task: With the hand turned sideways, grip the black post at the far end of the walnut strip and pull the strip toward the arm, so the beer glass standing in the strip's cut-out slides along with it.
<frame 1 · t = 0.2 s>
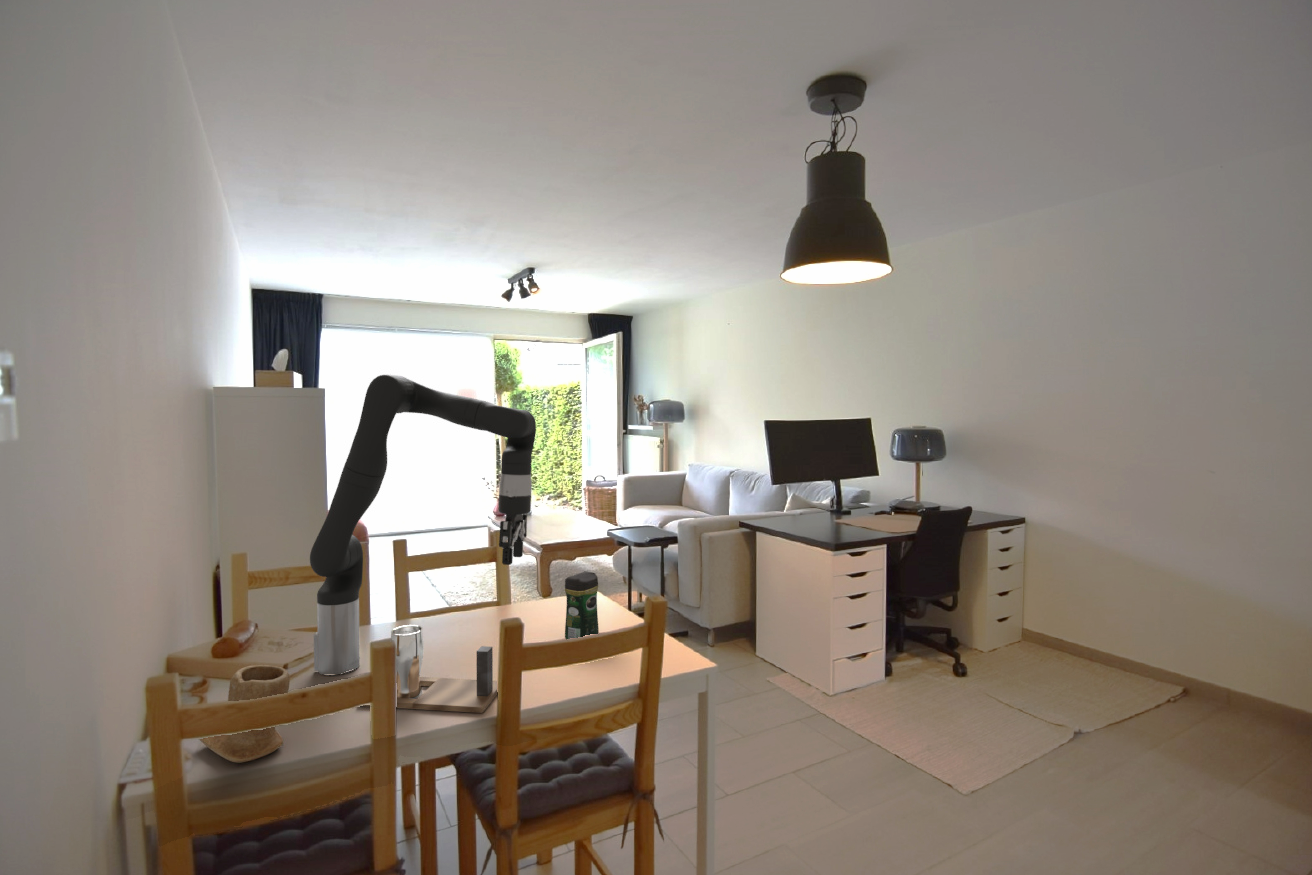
hand: (512, 560, 150), 29 cm above the table, tool pointing down, fingers open, 8 cm apart
stone cup: (250, 747, 120), on the table
beer glass: (407, 696, 141), resting in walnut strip
coffee jar: (581, 638, 178), on the table
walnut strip: (432, 670, 141), point 6 cm above the table, slide at 0.0 cm
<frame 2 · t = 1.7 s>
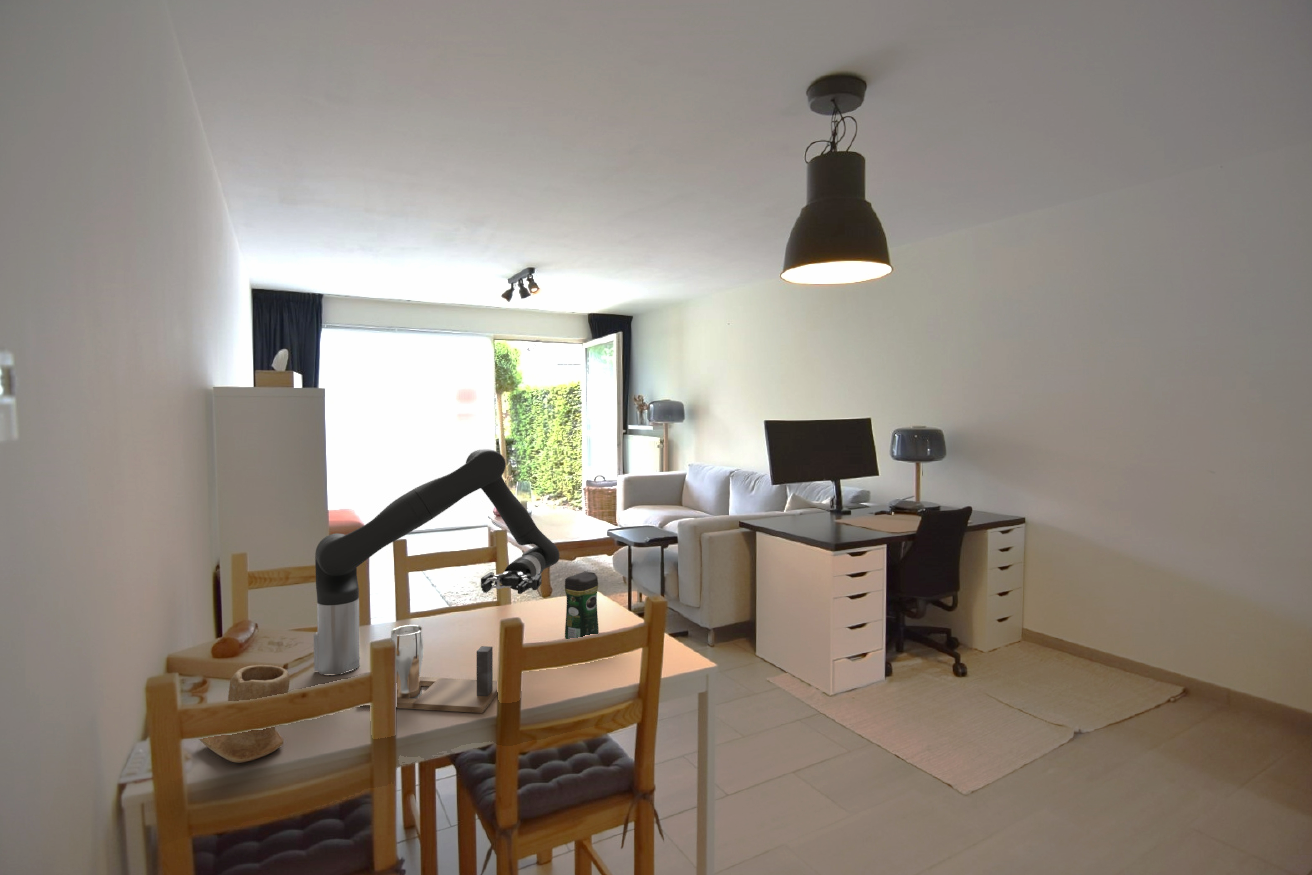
hand: (501, 589, 150), 22 cm above the table, tool horizontal, fingers open, 8 cm apart
nothing on the table moved.
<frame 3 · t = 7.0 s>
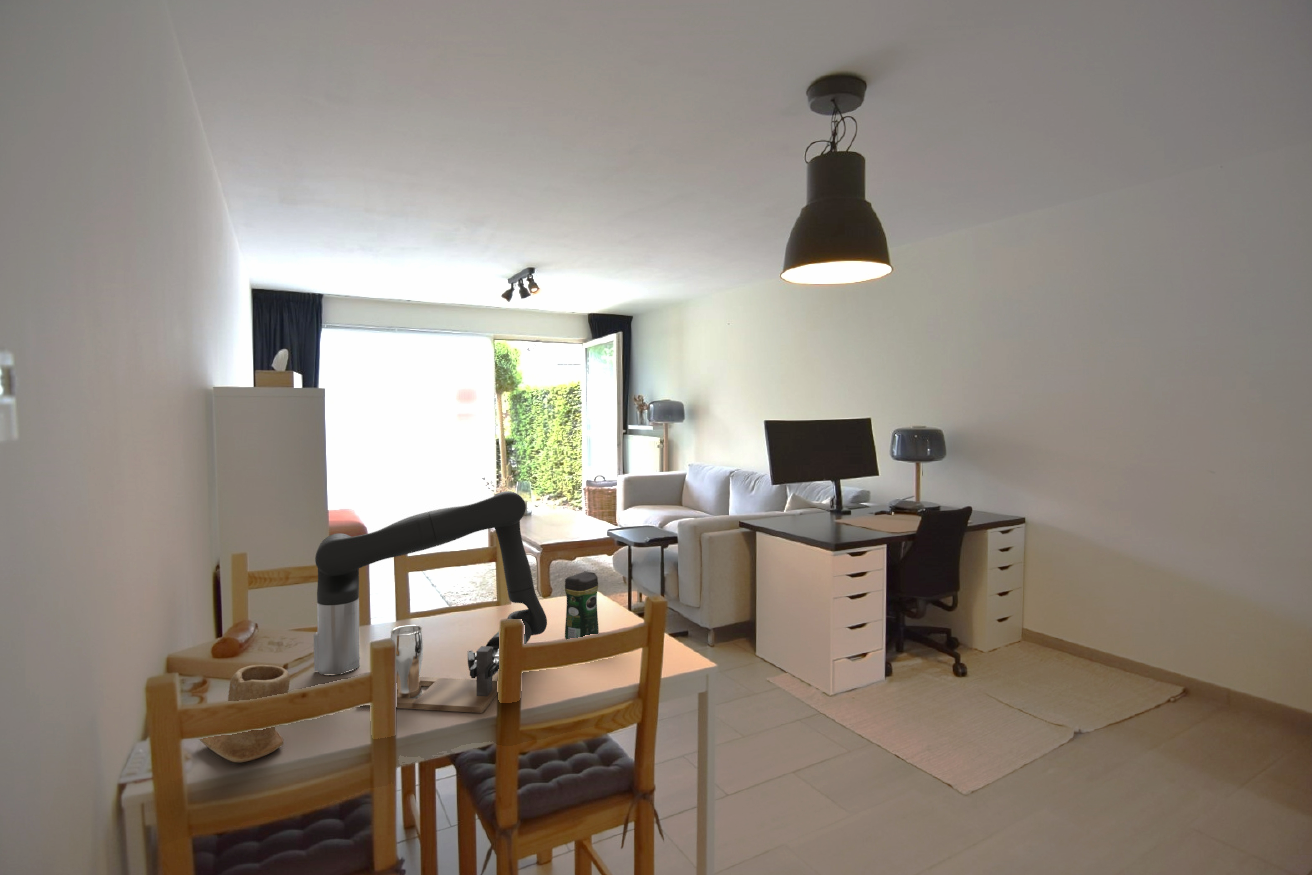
hand: (479, 674, 137), 7 cm above the table, tool horizontal, fingers closed on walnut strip, 2 cm apart
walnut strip: (432, 670, 141), point 6 cm above the table, slide at 0.0 cm, touching gripper
everything else where it was.
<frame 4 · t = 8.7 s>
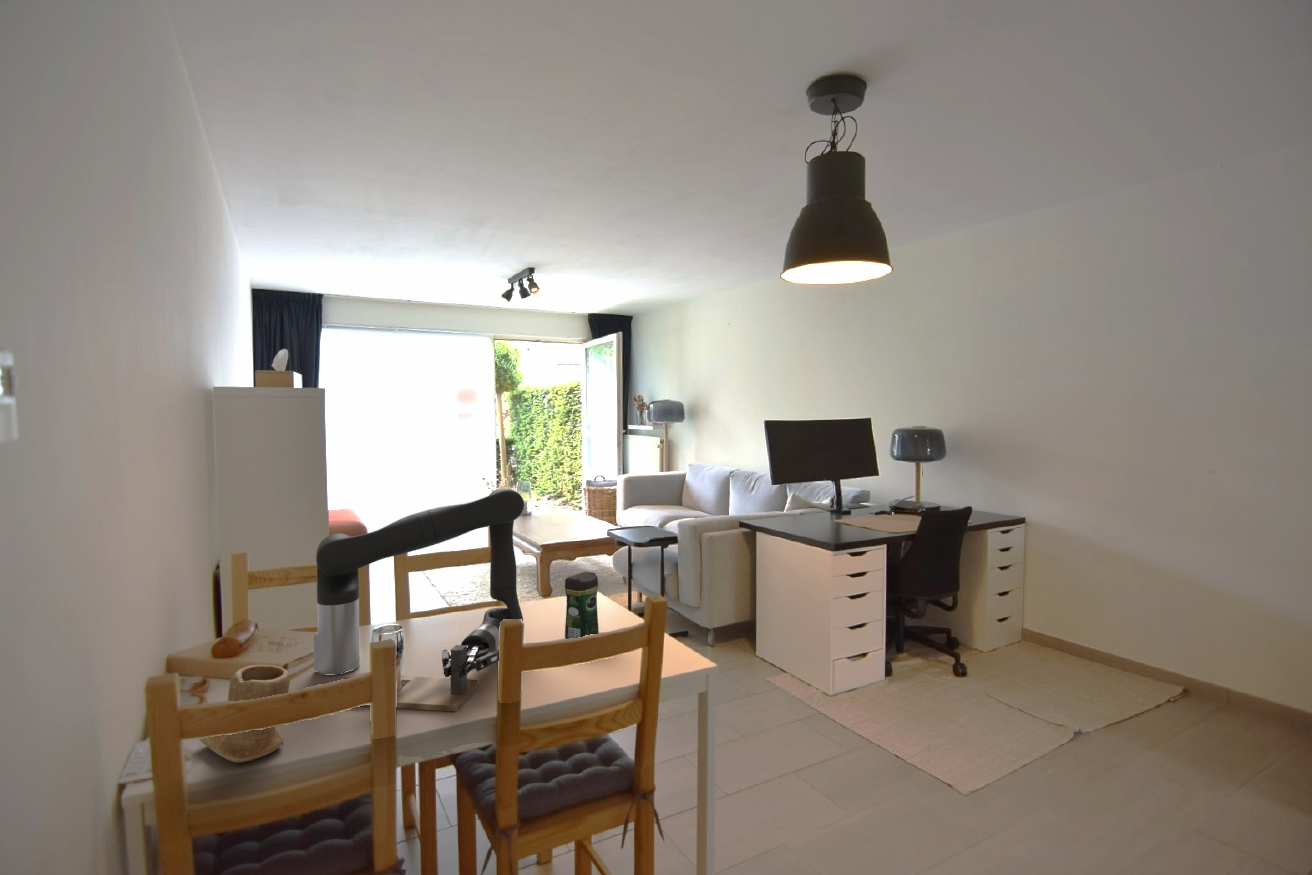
hand: (453, 672, 137), 7 cm above the table, tool horizontal, fingers closed on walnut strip, 2 cm apart
beer glass: (388, 695, 142), resting in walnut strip
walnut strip: (407, 669, 141), point 6 cm above the table, slide at 6.0 cm, touching beer glass, gripper
everything else where it was.
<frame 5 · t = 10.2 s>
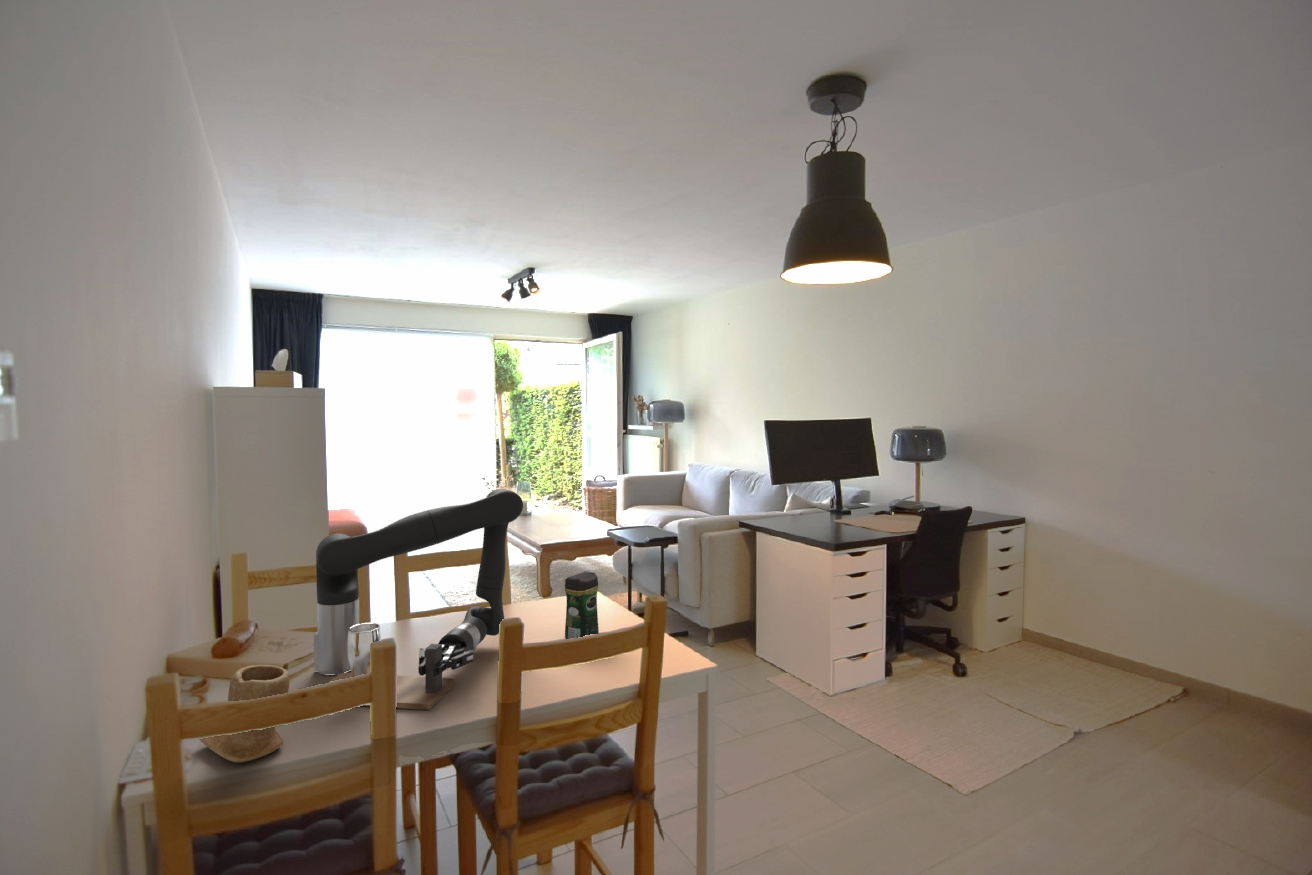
hand: (427, 671, 138), 7 cm above the table, tool horizontal, fingers closed on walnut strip, 2 cm apart
beer glass: (364, 693, 143), resting in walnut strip
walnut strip: (382, 668, 142), point 6 cm above the table, slide at 11.8 cm, touching beer glass, gripper
everything else where it was.
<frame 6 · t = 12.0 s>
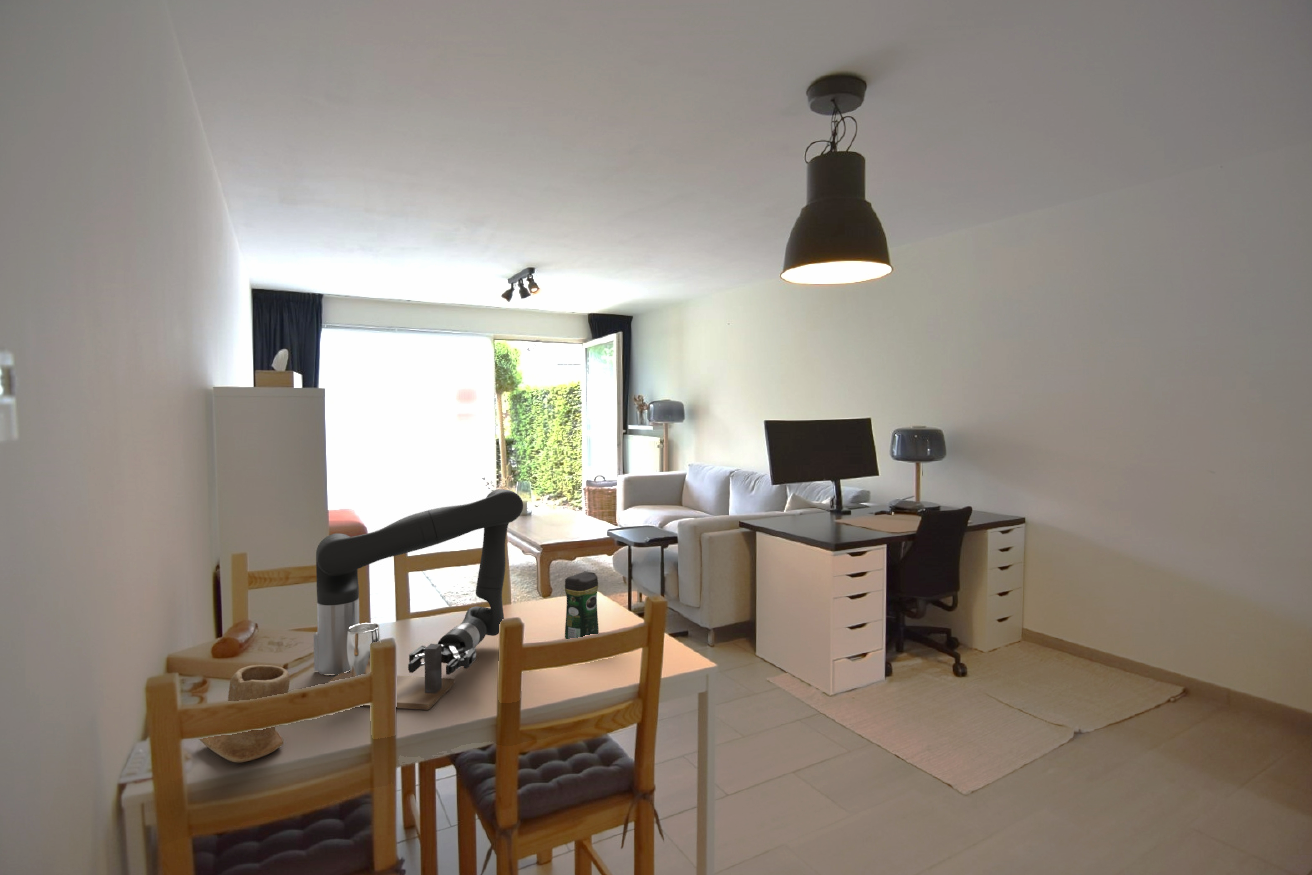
hand: (428, 669, 139), 7 cm above the table, tool horizontal, fingers open, 8 cm apart
beer glass: (364, 693, 143), resting in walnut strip
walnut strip: (382, 668, 142), point 6 cm above the table, slide at 11.9 cm
everything else where it was.
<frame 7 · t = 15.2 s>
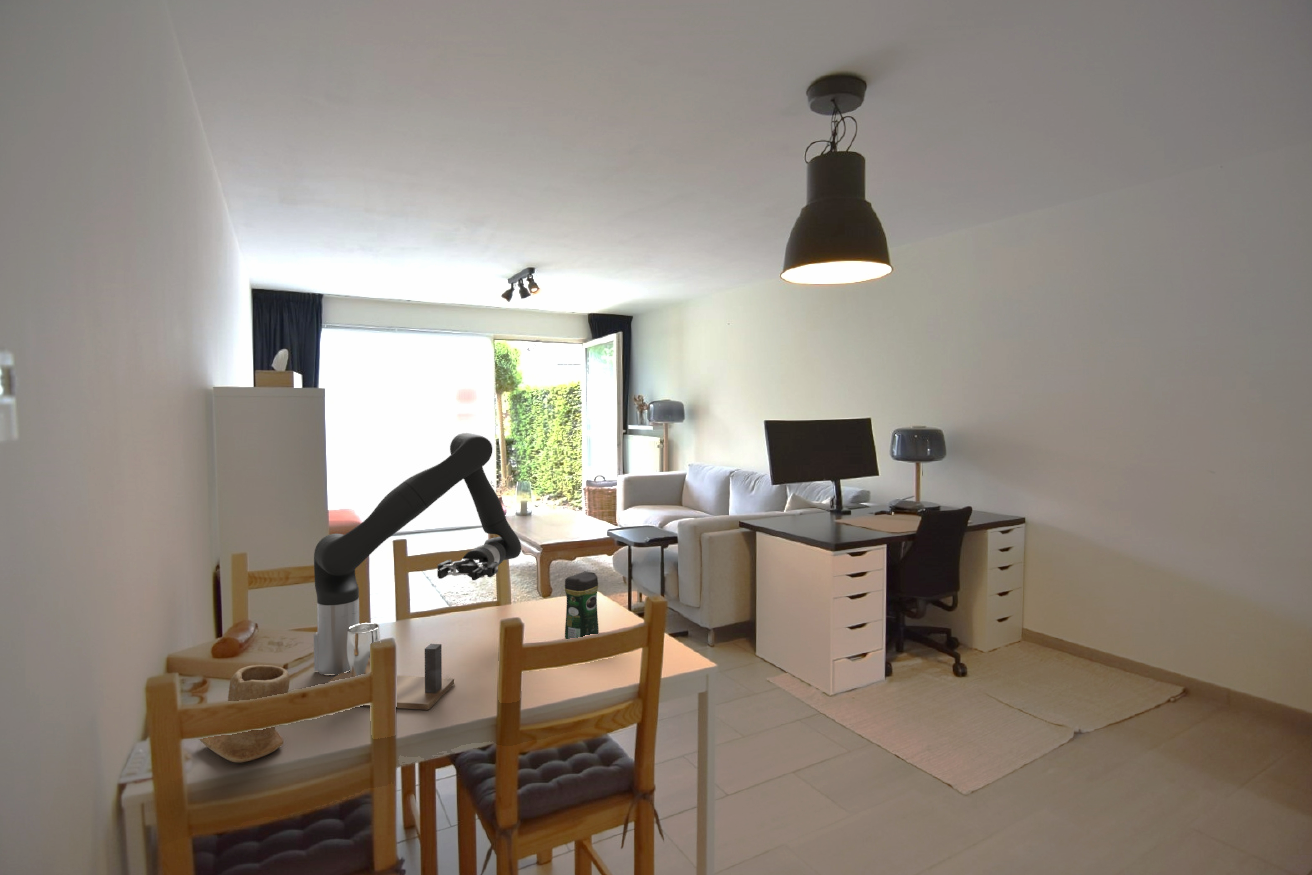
hand: (456, 575, 153), 24 cm above the table, tool horizontal, fingers open, 8 cm apart
nothing on the table moved.
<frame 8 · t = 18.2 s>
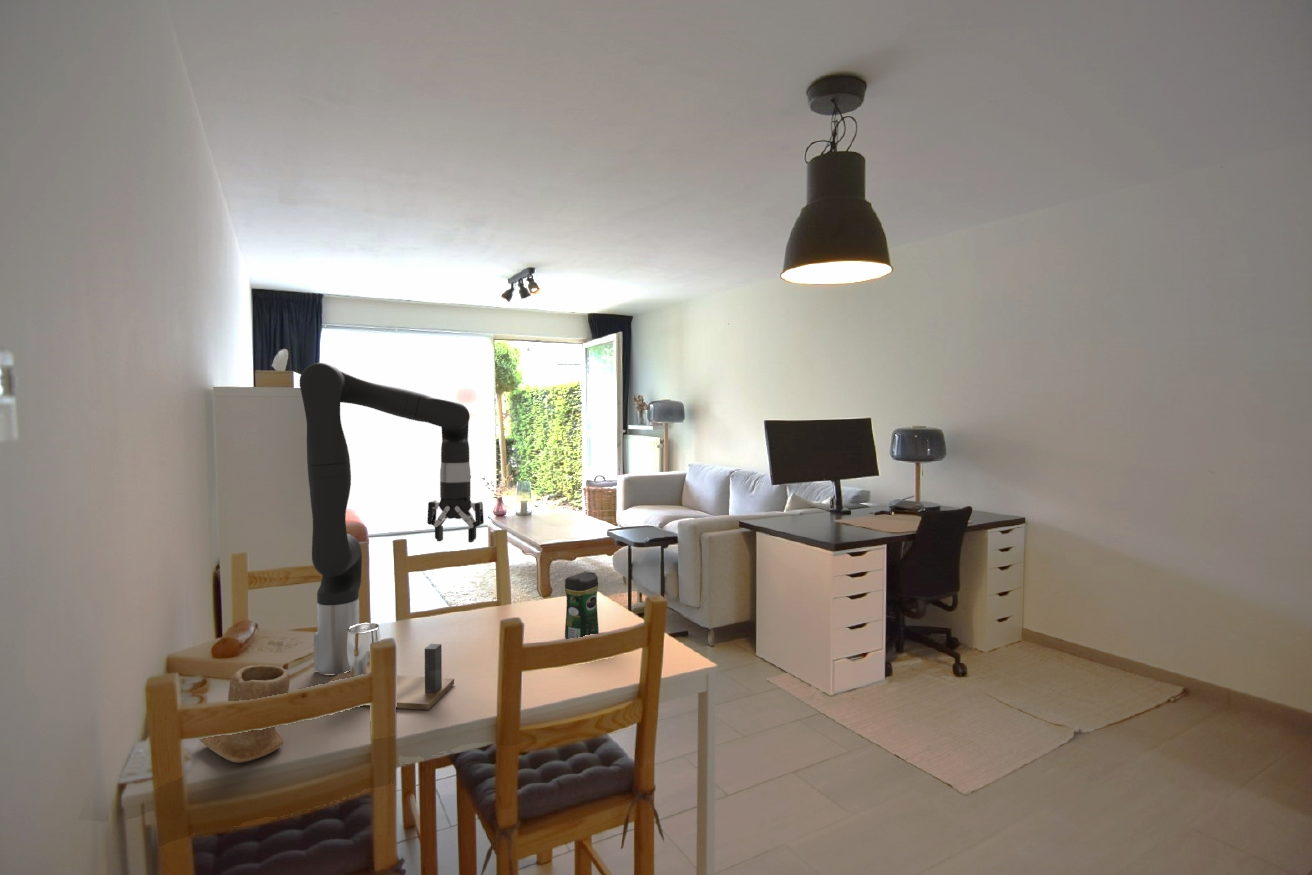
hand: (455, 541, 164), 30 cm above the table, tool pointing down, fingers open, 8 cm apart
nothing on the table moved.
at the end: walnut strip slide at 11.9 cm; beer glass inside the target area (1.6 cm from its centre), resting in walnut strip; beer glass tilted 0° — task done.
